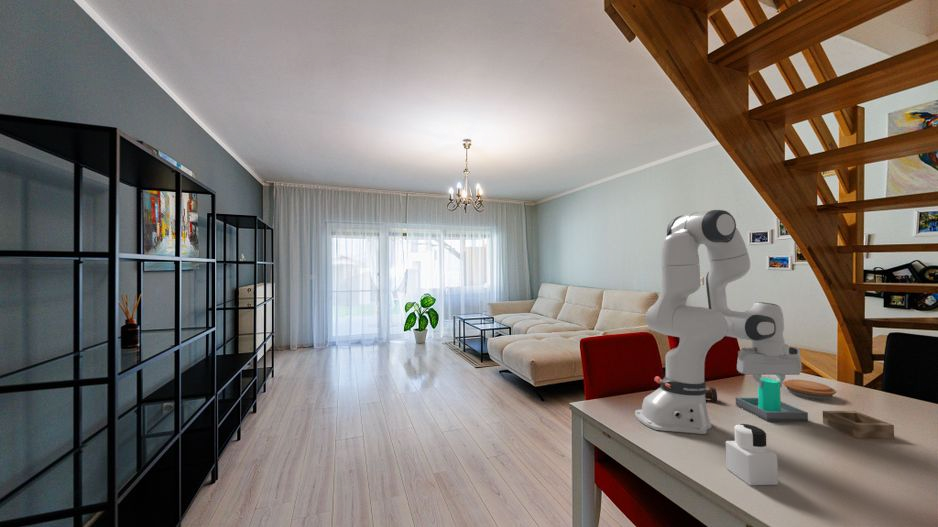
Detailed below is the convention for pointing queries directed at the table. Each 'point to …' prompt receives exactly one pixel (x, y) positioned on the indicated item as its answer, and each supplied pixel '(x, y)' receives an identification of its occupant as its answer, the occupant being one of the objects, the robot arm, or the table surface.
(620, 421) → the table surface
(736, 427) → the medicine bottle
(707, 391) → the dark brown oblong piece
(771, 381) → the teal green prism
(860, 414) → the brown wooden open box
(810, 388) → the pie
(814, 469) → the table surface
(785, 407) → the tray
